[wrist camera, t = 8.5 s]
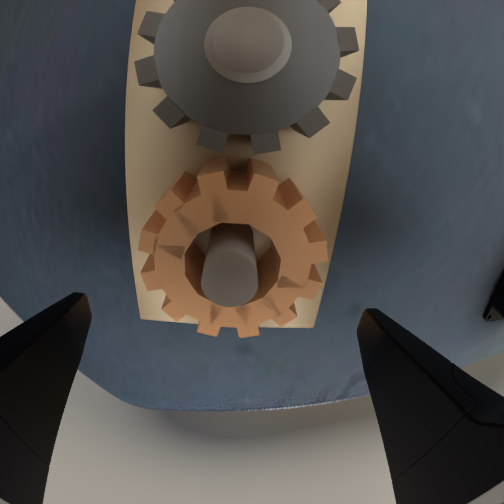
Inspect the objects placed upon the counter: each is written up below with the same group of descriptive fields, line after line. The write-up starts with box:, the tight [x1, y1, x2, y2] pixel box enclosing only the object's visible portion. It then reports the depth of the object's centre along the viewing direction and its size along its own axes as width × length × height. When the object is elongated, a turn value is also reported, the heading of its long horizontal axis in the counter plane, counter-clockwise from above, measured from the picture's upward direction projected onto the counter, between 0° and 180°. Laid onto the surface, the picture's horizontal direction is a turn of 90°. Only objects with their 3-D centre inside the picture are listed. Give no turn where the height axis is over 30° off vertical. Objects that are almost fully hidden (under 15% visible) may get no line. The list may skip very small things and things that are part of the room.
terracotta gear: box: [138, 156, 328, 338], centre depth 13 cm, size 7×7×3 cm
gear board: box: [125, 0, 367, 328], centre depth 11 cm, size 10×19×6 cm, turn 175°
